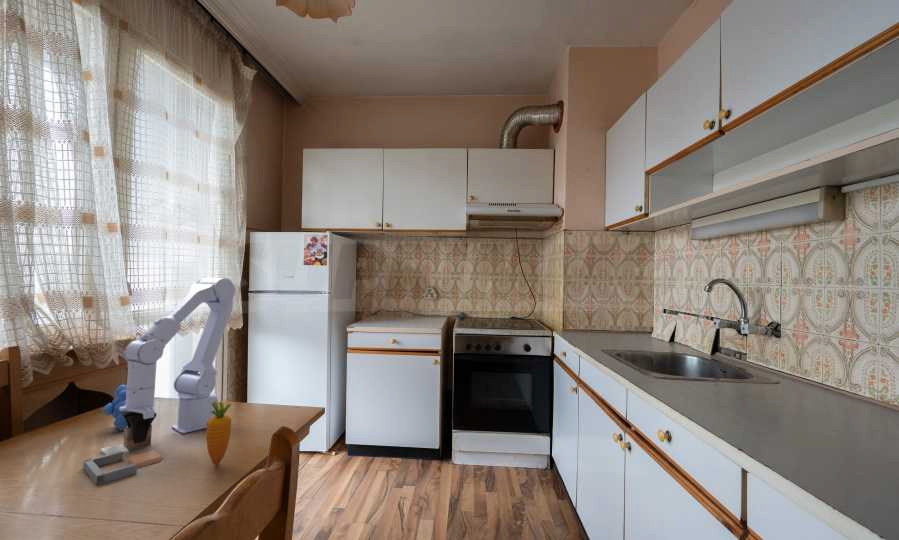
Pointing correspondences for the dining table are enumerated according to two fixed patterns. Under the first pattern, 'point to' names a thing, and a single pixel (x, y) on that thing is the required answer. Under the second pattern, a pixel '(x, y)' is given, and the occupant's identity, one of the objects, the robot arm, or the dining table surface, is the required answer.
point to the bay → (101, 477)
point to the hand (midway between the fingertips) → (137, 440)
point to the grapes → (117, 407)
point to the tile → (144, 458)
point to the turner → (128, 443)
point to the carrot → (218, 433)
